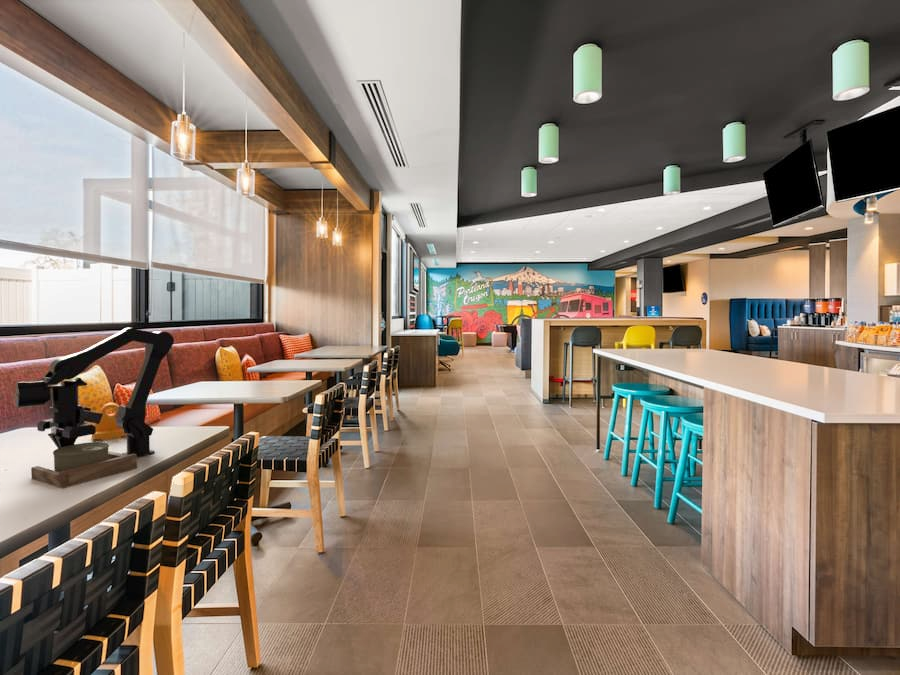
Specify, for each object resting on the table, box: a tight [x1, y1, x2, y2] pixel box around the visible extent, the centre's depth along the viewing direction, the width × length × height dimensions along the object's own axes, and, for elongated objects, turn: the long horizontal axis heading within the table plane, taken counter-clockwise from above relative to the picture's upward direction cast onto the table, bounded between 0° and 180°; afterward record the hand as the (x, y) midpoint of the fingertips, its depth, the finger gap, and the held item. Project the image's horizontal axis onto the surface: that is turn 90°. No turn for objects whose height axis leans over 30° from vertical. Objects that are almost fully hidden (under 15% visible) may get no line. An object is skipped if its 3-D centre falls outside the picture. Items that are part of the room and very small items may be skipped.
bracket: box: [91, 402, 127, 441], centre depth 165 cm, size 11×7×12 cm, turn 126°
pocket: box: [30, 450, 138, 489], centre depth 127 cm, size 15×18×4 cm
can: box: [52, 441, 110, 472], centre depth 127 cm, size 12×12×7 cm
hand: (66, 457), depth 131 cm, fingers closed
